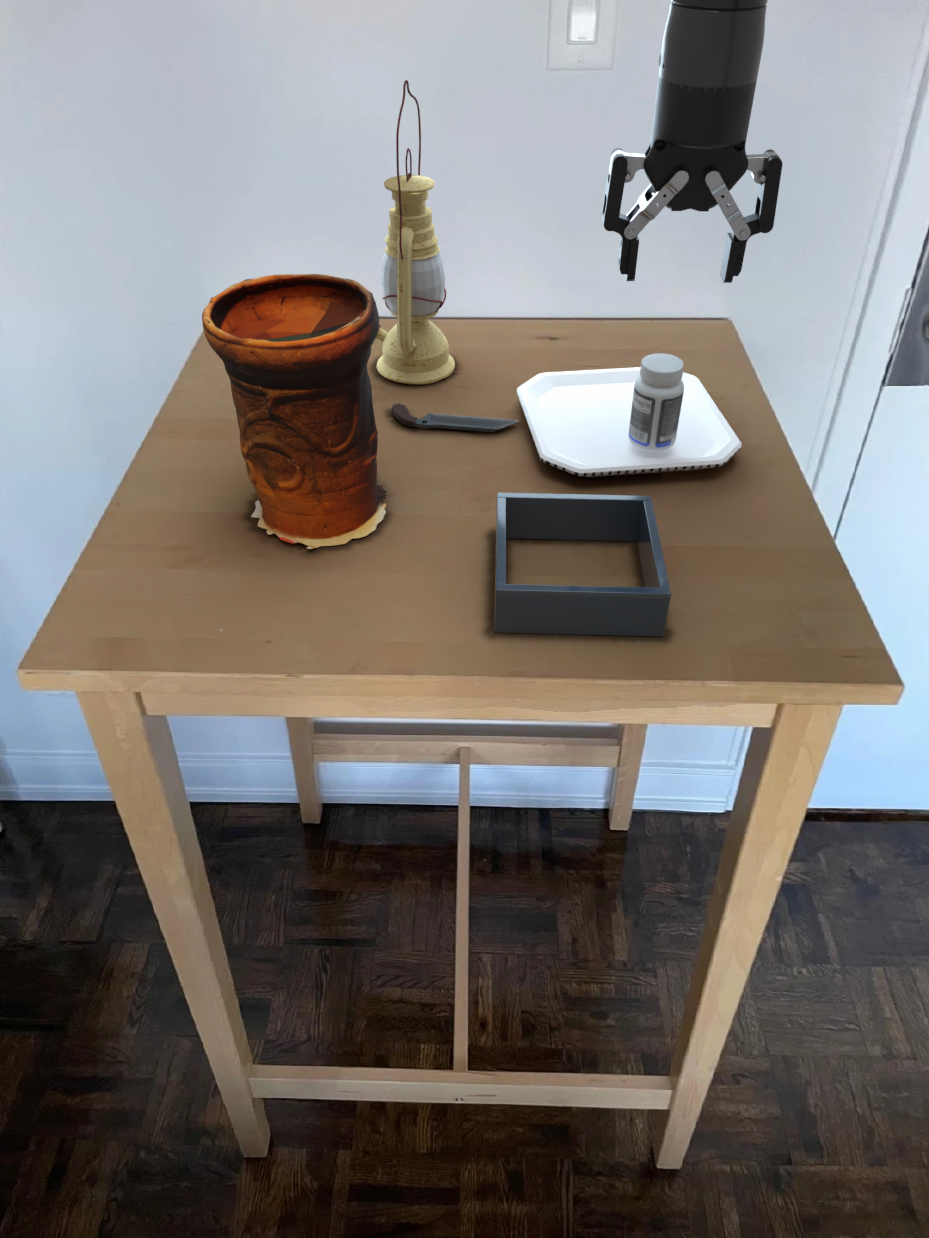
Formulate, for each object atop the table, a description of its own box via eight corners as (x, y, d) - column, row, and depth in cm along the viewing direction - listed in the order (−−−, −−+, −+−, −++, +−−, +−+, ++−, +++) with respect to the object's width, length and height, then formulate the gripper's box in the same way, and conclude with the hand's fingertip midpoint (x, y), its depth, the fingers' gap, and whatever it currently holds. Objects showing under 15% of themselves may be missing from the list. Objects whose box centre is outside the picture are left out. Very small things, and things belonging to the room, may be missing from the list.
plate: (545, 492, 91) (546, 473, 90) (510, 391, 107) (511, 373, 105) (750, 478, 93) (754, 459, 92) (686, 381, 109) (690, 363, 107)
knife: (385, 426, 101) (385, 420, 100) (393, 408, 104) (393, 402, 103) (516, 436, 99) (516, 430, 99) (520, 418, 102) (520, 412, 101)
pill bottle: (673, 429, 96) (686, 352, 91) (676, 453, 93) (690, 375, 87) (626, 426, 96) (636, 350, 91) (628, 451, 93) (638, 372, 87)
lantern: (384, 341, 116) (368, 64, 97) (462, 347, 115) (463, 68, 95) (360, 387, 107) (338, 92, 88) (445, 394, 106) (442, 96, 86)
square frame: (644, 536, 86) (651, 495, 83) (663, 637, 76) (671, 594, 73) (495, 533, 86) (497, 492, 83) (494, 632, 76) (495, 589, 73)
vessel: (207, 530, 87) (161, 321, 73) (290, 455, 96) (263, 259, 83) (344, 570, 82) (321, 355, 69) (416, 487, 92) (409, 285, 79)
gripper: (620, 82, 70) (600, 295, 81) (812, 83, 70) (767, 297, 81) (612, 61, 76) (594, 262, 87) (789, 62, 76) (750, 264, 86)
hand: (677, 279), depth 84 cm, fingers open, 8 cm apart
